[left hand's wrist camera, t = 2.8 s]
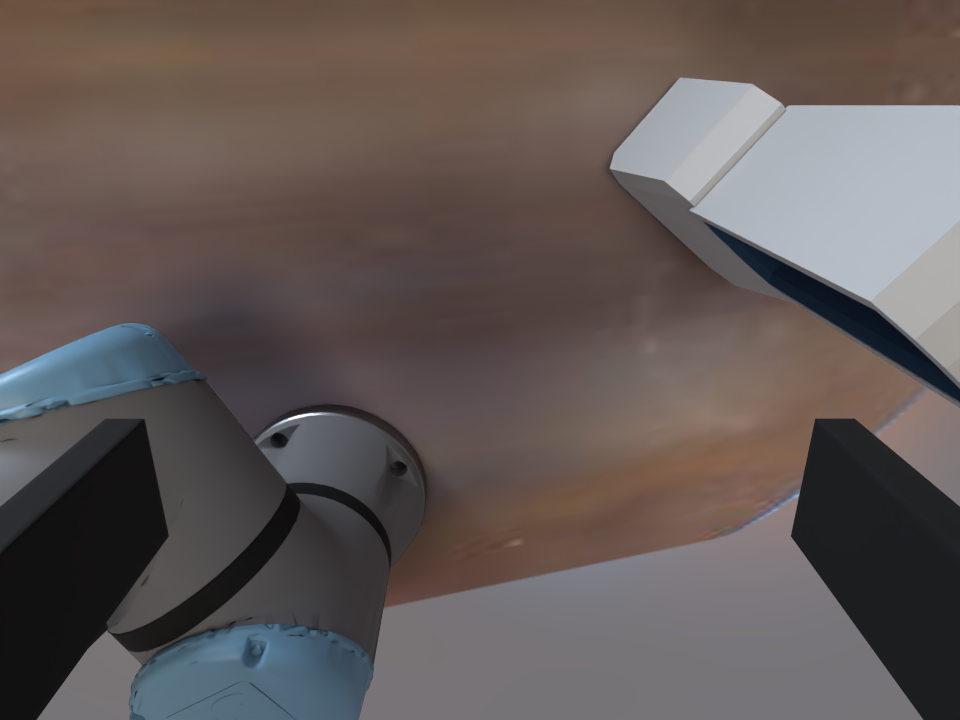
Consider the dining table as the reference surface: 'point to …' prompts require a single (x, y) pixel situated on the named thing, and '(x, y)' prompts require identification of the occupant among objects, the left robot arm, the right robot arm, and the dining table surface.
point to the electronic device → (816, 210)
